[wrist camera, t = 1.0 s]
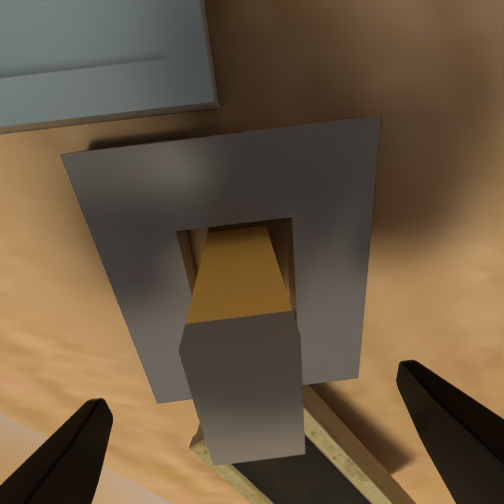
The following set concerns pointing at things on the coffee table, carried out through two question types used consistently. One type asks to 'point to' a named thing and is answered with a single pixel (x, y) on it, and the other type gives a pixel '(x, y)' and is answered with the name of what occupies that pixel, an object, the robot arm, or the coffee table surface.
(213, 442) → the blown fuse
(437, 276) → the coffee table surface
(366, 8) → the coffee table surface
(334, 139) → the socket block
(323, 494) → the box
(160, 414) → the coffee table surface
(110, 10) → the parts tray
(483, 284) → the coffee table surface
